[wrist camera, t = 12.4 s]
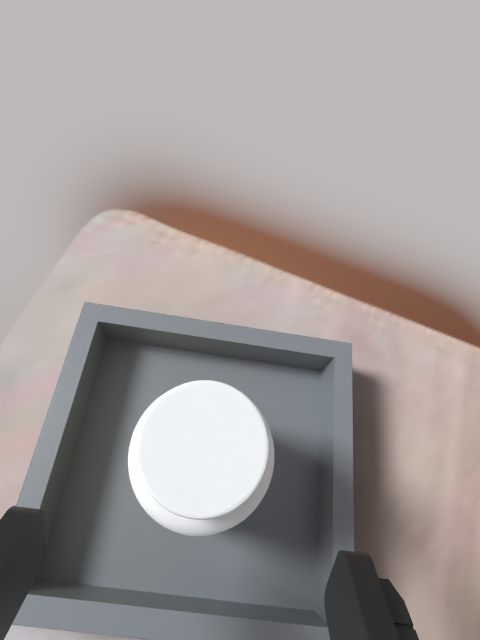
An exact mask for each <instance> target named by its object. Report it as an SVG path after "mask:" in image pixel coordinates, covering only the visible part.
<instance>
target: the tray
mask: <svg viewBox="0 0 480 640" xmlns="http://www.w3.org/2000/svg"><path fill="white" fill-rule="evenodd" d="M198 380H212V381H217V382H222V383H225V384H227V385H230V386H232V387H234V388H236V389H237V390H239V391H241V392H242V393H243V394H245V395H246V396H247V397H248V398H249V399H250V400H251V401H252V402H253V403H254V404H255V405H256V406H257V407H258V409H259V410H260V411H261V413H262V414H263V416H264V418H265V419H266V421H267V424H268V426H269V428H270V431H271V435H272V439H273V444H274V468H273V474H272V478H271V481H270V484H269V487H268V489H267V491H266V493H265V495H264V497H263V499H262V500H261V502H260V503H259V505H258V506H257V507H256V509H255V510H254V511H253V512H252V513H251V514H250V515H249V516H248V517H247V518H246V519H245V520H243V521H242V522H240V523H239V524H237V525H236V526H234V527H232V528H230V529H228V530H226V531H223V532H220V533H217V534H214V535H208V536H187V535H183V534H179V533H176V532H173V531H171V530H169V529H167V528H165V527H163V526H162V525H160V524H159V523H157V522H156V521H155V520H154V519H152V518H151V517H150V516H149V515H148V514H147V512H146V511H145V510H144V509H143V507H142V506H141V505H140V503H139V501H138V500H137V498H136V496H135V493H134V491H133V488H132V485H131V482H130V477H129V471H128V452H129V446H130V442H131V438H132V434H133V432H134V429H135V427H136V425H137V423H138V421H139V419H140V418H141V416H142V415H143V413H144V412H145V411H146V409H147V408H148V407H149V406H150V405H151V404H152V403H153V402H154V401H155V400H156V399H157V398H159V397H160V396H161V395H163V394H164V393H166V392H167V391H169V390H171V389H173V388H175V387H177V386H179V385H181V384H184V383H188V382H192V381H198ZM16 506H18V507H26V508H34V509H41V510H43V511H44V537H45V551H44V557H43V561H42V565H41V568H40V570H39V573H38V575H37V577H36V579H35V581H34V583H33V585H32V587H31V589H30V591H29V592H28V594H27V596H26V598H25V600H24V602H23V604H22V606H21V608H20V610H19V612H18V613H17V615H16V617H15V619H14V621H13V623H12V625H18V626H28V627H37V628H46V629H56V630H65V631H74V632H84V633H93V634H102V635H112V636H121V637H130V638H140V639H149V640H330V636H329V631H328V625H327V620H326V615H325V606H324V596H325V588H326V584H327V582H328V579H329V576H330V573H331V570H332V568H333V565H334V562H335V559H336V556H337V554H338V552H339V551H340V550H345V551H353V552H354V481H353V398H352V343H346V342H339V341H333V340H326V339H320V338H313V337H307V336H301V335H294V334H288V333H281V332H275V331H268V330H262V329H256V328H249V327H243V326H236V325H230V324H224V323H217V322H211V321H204V320H198V319H191V318H185V317H179V316H172V315H166V314H159V313H153V312H146V311H140V310H134V309H127V308H121V307H114V306H108V305H102V304H95V303H89V302H84V305H83V308H82V311H81V314H80V317H79V320H78V323H77V325H76V328H75V331H74V334H73V337H72V340H71V343H70V346H69V349H68V352H67V355H66V358H65V361H64V364H63V367H62V370H61V373H60V376H59V379H58V382H57V385H56V388H55V391H54V394H53V397H52V400H51V403H50V406H49V409H48V412H47V415H46V418H45V421H44V424H43V427H42V430H41V433H40V436H39V439H38V442H37V445H36V448H35V451H34V454H33V457H32V460H31V463H30V465H29V468H28V471H27V474H26V477H25V480H24V483H23V486H22V489H21V492H20V495H19V498H18V501H17V504H16Z"/></svg>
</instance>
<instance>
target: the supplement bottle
mask: <svg viewBox="0 0 480 640" xmlns="http://www.w3.org/2000/svg"><path fill="white" fill-rule="evenodd" d="M273 468H274V444H273V439H272V435H271V431H270V428H269V426H268V424H267V421H266V419H265V418H264V416H263V414H262V413H261V411H260V410H259V409H258V407H257V406H256V405H255V404H254V403H253V402H252V401H251V400H250V399H249V398H248V397H247V396H246V395H245V394H243V393H242V392H241V391H239V390H237V389H236V388H234V387H232V386H230V385H227V384H225V383H222V382H217V381H212V380H198V381H192V382H188V383H184V384H181V385H179V386H177V387H175V388H173V389H171V390H169V391H167V392H166V393H164V394H163V395H161V396H160V397H159V398H157V399H156V400H155V401H154V402H153V403H152V404H151V405H150V406H149V407H148V408H147V409H146V411H145V412H144V413H143V415H142V416H141V418H140V419H139V421H138V423H137V425H136V427H135V429H134V432H133V434H132V438H131V442H130V446H129V452H128V471H129V477H130V482H131V485H132V488H133V491H134V493H135V496H136V498H137V500H138V501H139V503H140V505H141V506H142V507H143V509H144V510H145V511H146V512H147V514H148V515H149V516H150V517H151V518H152V519H154V520H155V521H156V522H157V523H159V524H160V525H162V526H163V527H165V528H167V529H169V530H171V531H173V532H176V533H179V534H183V535H187V536H208V535H214V534H217V533H220V532H223V531H226V530H228V529H230V528H232V527H234V526H236V525H237V524H239V523H240V522H242V521H243V520H245V519H246V518H247V517H248V516H249V515H250V514H251V513H252V512H253V511H254V510H255V509H256V507H257V506H258V505H259V503H260V502H261V500H262V499H263V497H264V495H265V493H266V491H267V489H268V487H269V484H270V481H271V478H272V474H273Z"/></svg>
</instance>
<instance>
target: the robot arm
mask: <svg viewBox="0 0 480 640" xmlns="http://www.w3.org/2000/svg"><path fill="white" fill-rule="evenodd" d="M44 551H45V537H44V511H43V510H41V509H34V508H26V507H18V506H12V507H11V508H9V509H8V510H7V512H6V513H5V514H4V516H3V517H2V518H1V520H0V640H4V638H5V636H6V634H7V632H8V631H9V629H10V627H11V625H12V623H13V621H14V619H15V617H16V615H17V613H18V612H19V610H20V608H21V606H22V604H23V602H24V600H25V598H26V596H27V594H28V592H29V591H30V589H31V587H32V585H33V583H34V581H35V579H36V577H37V575H38V573H39V570H40V568H41V565H42V561H43V557H44ZM324 606H325V615H326V620H327V625H328V631H329V636H330V640H419V639H418V636H417V633H416V631H415V630H414V629H413V623H412V620H411V618H410V615H409V613H408V610H407V608H406V605H405V602H404V600H403V599H402V597H401V596H400V595H399V593H398V592H397V591H396V589H395V588H394V586H393V585H392V584H391V582H390V581H389V579H381V578H378V576H377V573H376V570H375V567H374V564H373V562H372V559H371V557H370V556H369V555H368V554H367V553H360V552H353V551H345V550H340V551H339V552H338V554H337V556H336V559H335V562H334V565H333V568H332V570H331V573H330V576H329V579H328V582H327V584H326V588H325V596H324Z"/></svg>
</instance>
